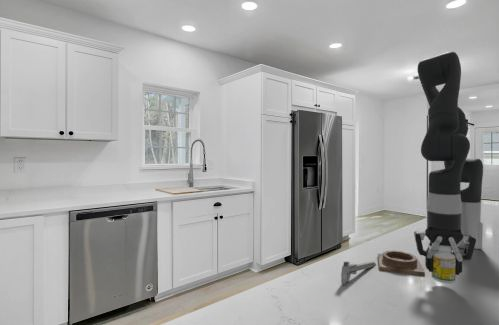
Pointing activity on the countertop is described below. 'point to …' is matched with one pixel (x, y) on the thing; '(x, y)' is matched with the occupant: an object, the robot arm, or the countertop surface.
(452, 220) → the robot arm
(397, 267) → the bottle holder
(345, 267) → the caliper
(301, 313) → the countertop surface
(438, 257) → the supplement bottle
